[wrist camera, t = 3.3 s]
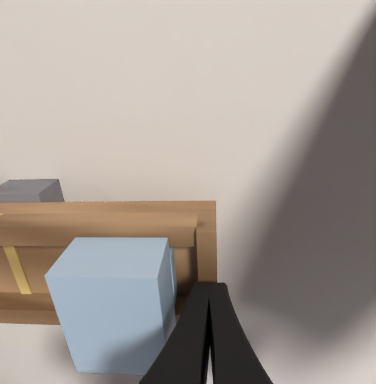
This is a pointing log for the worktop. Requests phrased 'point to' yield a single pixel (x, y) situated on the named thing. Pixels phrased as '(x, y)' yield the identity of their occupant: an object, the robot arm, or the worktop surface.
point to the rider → (115, 301)
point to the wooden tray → (90, 227)
